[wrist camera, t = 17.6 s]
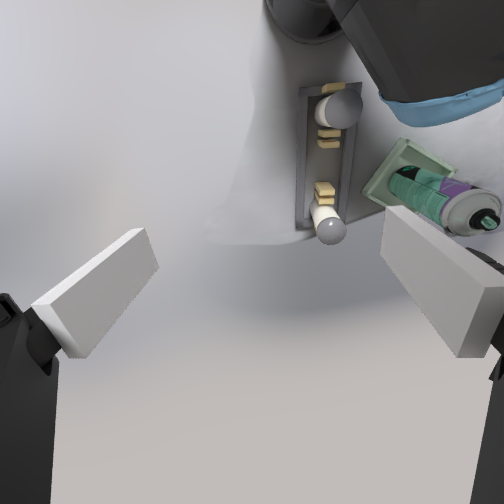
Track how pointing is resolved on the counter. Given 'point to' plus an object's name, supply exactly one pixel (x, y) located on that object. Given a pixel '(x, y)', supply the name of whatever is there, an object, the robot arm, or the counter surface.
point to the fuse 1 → (339, 109)
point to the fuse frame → (323, 188)
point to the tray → (400, 156)
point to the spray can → (446, 200)
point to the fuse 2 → (327, 223)
